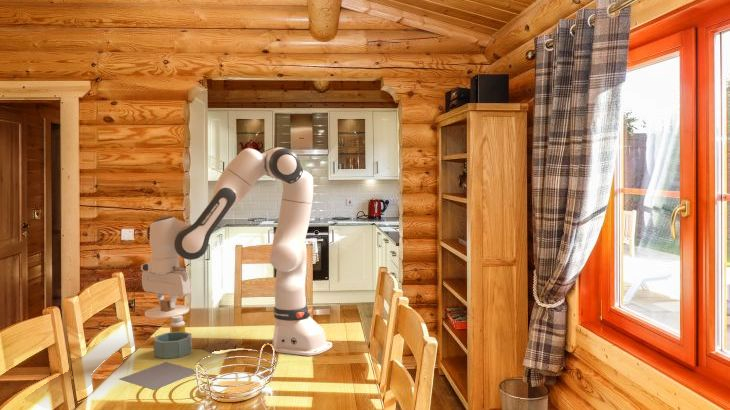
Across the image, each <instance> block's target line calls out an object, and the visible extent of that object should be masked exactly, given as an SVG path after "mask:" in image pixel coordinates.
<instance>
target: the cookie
mask: <svg viewBox="0 0 730 410" xmlns="http://www.w3.org/2000/svg"><path fill="white" fill-rule="evenodd" d="M236 348H245V347H244V346H243V345H241V344H239V343H237V342H236V341H234V340H227V341H224V342H219V343H216V344H209V345H205V346H202V350H203V349H204V350H205V351H206V352H207V353H209V352H210V353H209V354H211V353H212V352H214V351H220V350H227V349H236Z"/></svg>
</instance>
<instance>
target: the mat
mask: <svg viewBox="0 0 730 410" xmlns="http://www.w3.org/2000/svg"><path fill="white" fill-rule="evenodd" d="M194 370H195V369H194V368H190V367H186V366H184V365H183V366H182V365H180V364H176V363H171V362H167V361H164V362H162V363H159V364H156V365H153V366H151V367H147V368H145V369H142V370H140V371H139V370H138V371H136V372H134V373H132V374H128V375H125V376H122V377H119V380H121V381H123V382H128V383H131V384H134V385H136V386H140V387H143V388H147V389H150V390H153V391H156V390H159V389H161V388H164V387H166V386H168V385H171V384H173V383H176V382H178V381H181V380H183V379H185V378H187V377H191V376H192V375H195V374H196V373H195V371H194Z"/></svg>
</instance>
